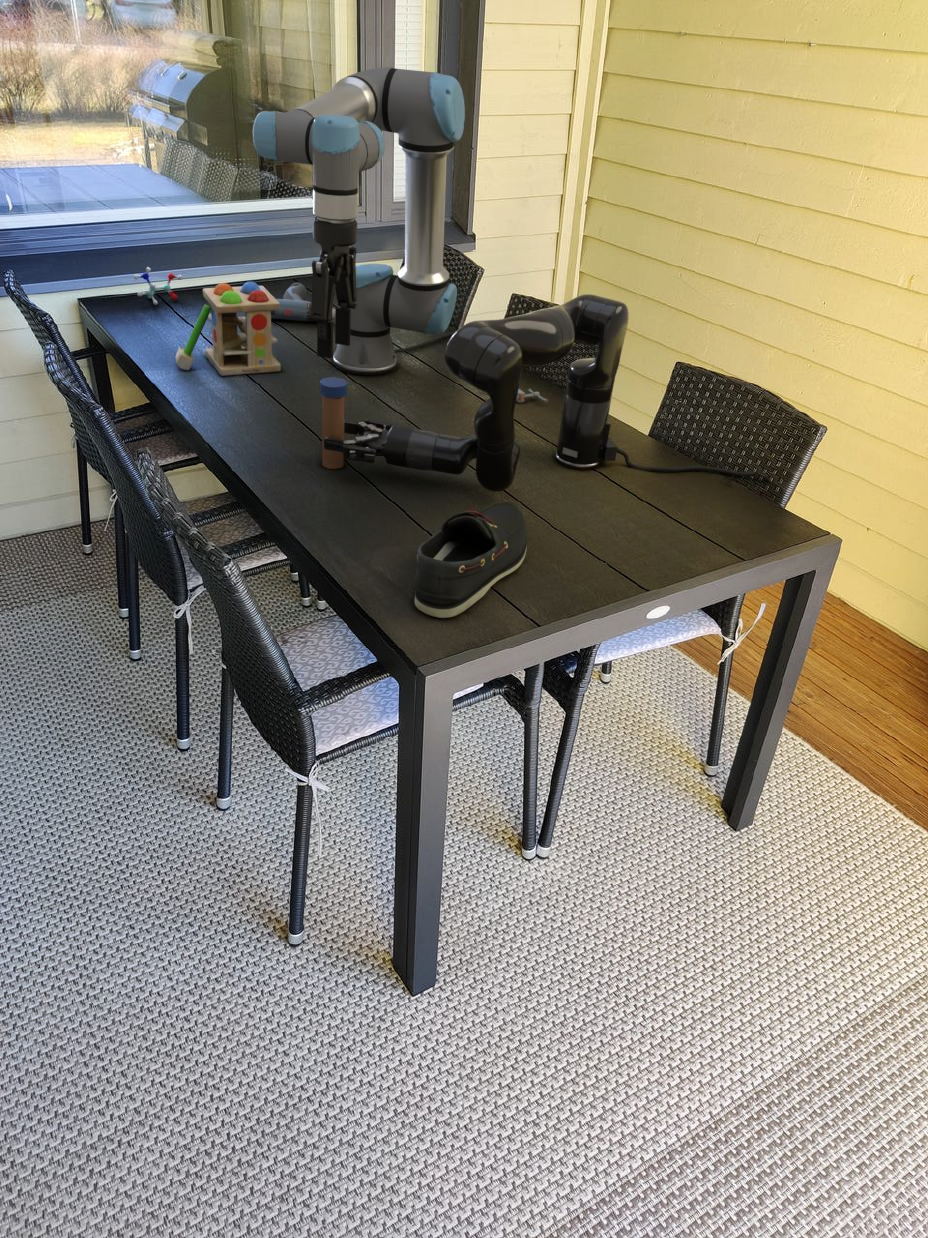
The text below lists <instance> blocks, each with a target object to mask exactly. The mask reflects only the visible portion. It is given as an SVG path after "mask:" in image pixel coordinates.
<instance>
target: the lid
mask: <svg viewBox="0 0 928 1238" xmlns="http://www.w3.org/2000/svg"><path fill="white" fill-rule="evenodd" d="M319 394H320V395H321V397H322V396H325V397H328V398H342V397H344V396H345V397H346V396H347V395H348V381H347V380H345V379H344V378H341V377H335V376H333V377H332V376H331V377H324V378H322V379H320V381H319Z"/></svg>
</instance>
